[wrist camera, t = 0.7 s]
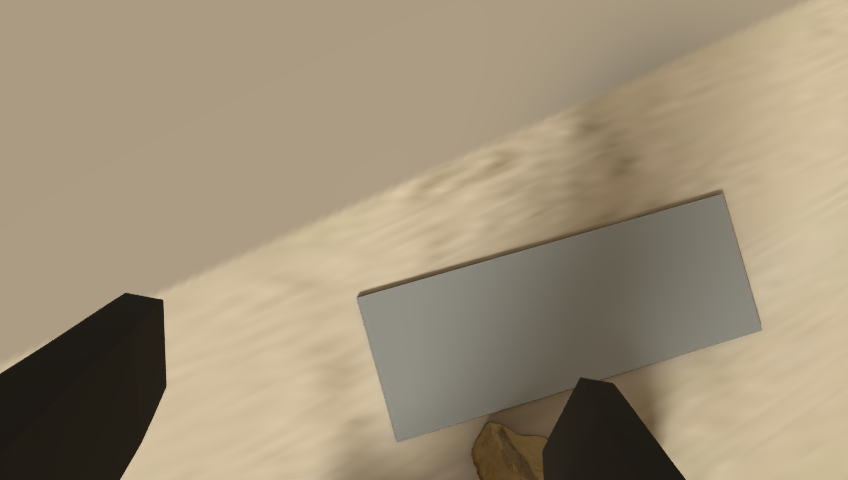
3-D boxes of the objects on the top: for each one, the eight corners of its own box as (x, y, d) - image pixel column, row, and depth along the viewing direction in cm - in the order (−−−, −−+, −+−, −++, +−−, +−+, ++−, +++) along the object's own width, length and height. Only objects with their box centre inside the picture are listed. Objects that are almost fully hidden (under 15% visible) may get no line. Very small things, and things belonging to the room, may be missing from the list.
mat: (759, 329, 36) (762, 330, 35) (396, 440, 34) (397, 442, 34) (720, 193, 36) (723, 193, 35) (356, 297, 34) (356, 297, 34)
